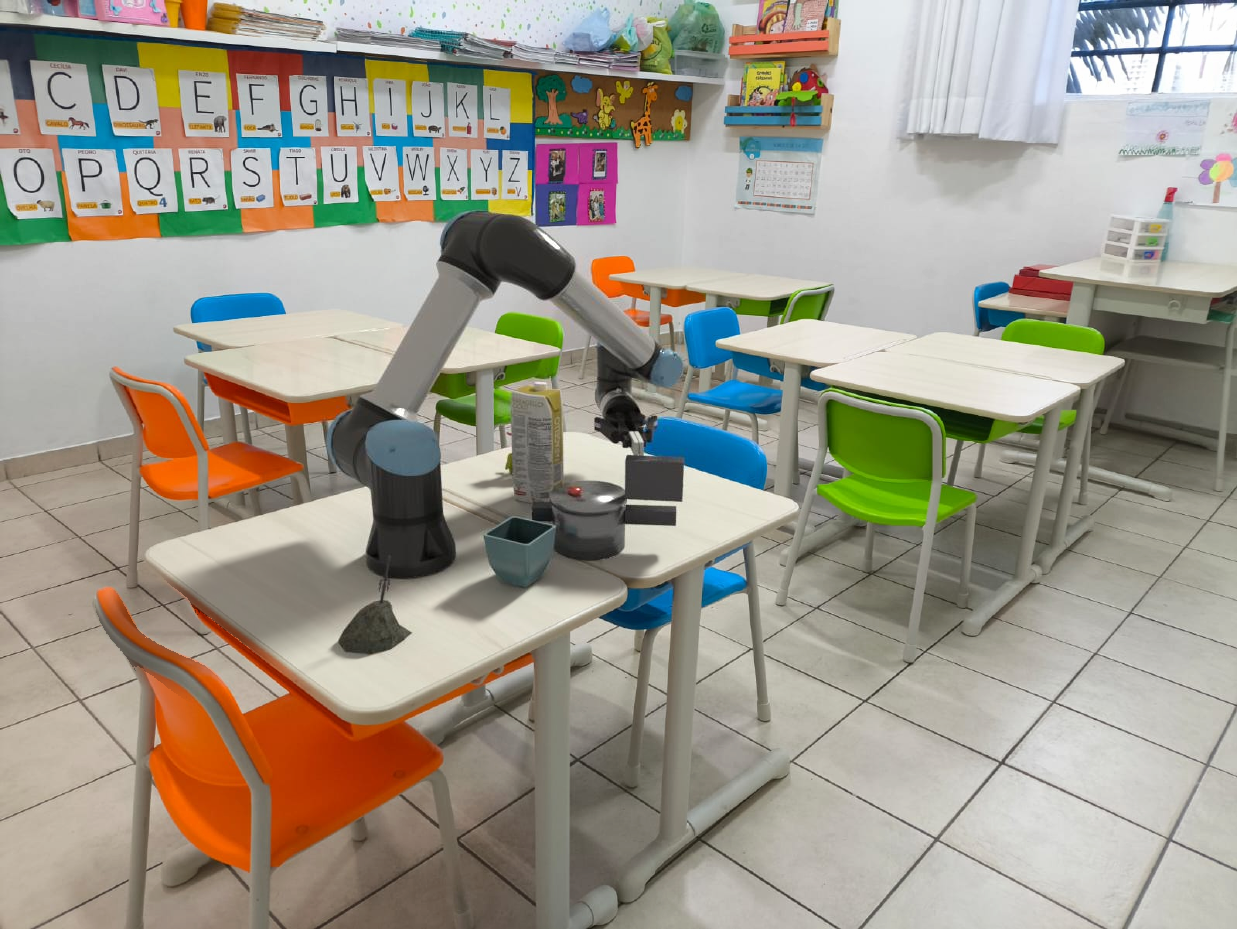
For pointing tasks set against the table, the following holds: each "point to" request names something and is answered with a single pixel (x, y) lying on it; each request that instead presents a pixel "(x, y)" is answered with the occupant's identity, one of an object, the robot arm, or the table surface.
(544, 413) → the juice carton
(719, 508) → the table surface
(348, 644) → the sword in stone
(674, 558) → the table surface
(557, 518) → the pot
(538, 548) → the flower pot
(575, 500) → the lid
